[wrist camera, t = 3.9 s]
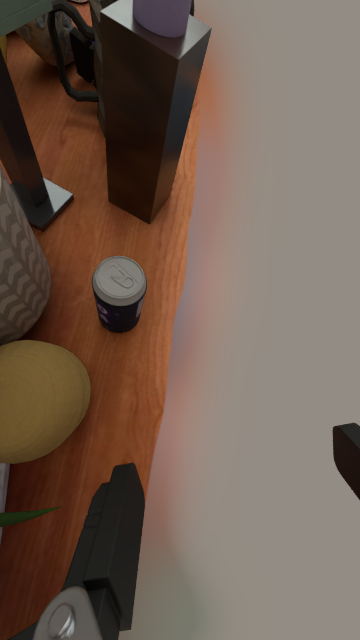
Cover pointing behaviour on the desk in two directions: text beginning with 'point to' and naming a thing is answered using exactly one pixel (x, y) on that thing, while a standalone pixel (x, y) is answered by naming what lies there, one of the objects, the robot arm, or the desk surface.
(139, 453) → the desk surface
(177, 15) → the detergent bottle
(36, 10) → the basin
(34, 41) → the stone
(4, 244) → the planter
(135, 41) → the stand
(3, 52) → the vase
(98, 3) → the mug
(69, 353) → the yellow round bun shape
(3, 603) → the desk surface
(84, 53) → the toy
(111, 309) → the beverage can
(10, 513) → the dinosaur figurine
